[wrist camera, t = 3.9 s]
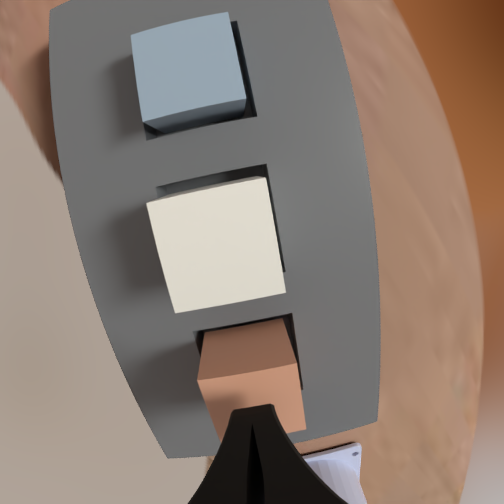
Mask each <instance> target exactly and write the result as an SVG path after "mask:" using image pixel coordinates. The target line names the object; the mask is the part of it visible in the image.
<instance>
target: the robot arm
mask: <svg viewBox="0 0 504 504" xmlns="http://www.w3.org/2000/svg"><path fill="white" fill-rule="evenodd" d="M361 449H362V448H361V445H360V444H359V443H353V444H349V445H346V446H342V447H338V448H335V449H331V450H327V451H323V452H319V453H314V454H310V455H306V456H301V455H300V453H299V452H298V451H297V449H296V448H295V446H294V445H293V443H292V442H291V440H290V439H289V437H288V436H287V434H286V432H285V430H284V429H283V427H282V425H281V423H280V421H279V419H278V416H277V414H276V411H275V407H274V405H273V404H271V403H270V404H264V405H259V406H253V407H247V408H240V409H234V410H233V411H232V412H231V415H230V419H229V422H228V426H227V429H226V432H225V434H224V437H223V440H222V442H221V444H220V447H219V449H218V451H217V454H216V456H215V458H214V460H213V462H212V464H211V466H210V468H209V470H208V472H207V474H206V476H205V478H204V479H203V481H202V483H201V484H200V486H199V488H198V489H197V491H196V492H195V494H194V495H193V497H192V498H191V500H190V501H189V503H188V504H367V501H366V499H365V496H364V493H363V491H362V488H361V485H360V483H359V475H360V463H361Z"/></svg>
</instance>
